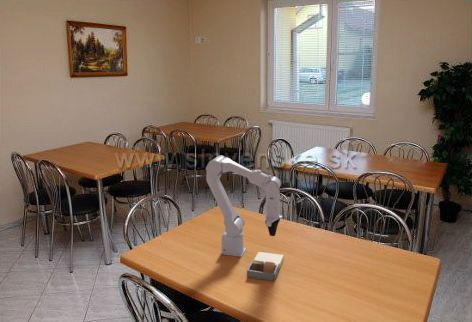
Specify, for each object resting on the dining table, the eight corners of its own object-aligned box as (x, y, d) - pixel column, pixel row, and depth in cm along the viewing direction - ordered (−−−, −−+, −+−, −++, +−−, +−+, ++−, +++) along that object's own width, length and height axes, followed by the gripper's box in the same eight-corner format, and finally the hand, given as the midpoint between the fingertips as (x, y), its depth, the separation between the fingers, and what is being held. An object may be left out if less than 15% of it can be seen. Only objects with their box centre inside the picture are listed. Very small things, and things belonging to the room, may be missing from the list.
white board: (253, 265, 165) (253, 261, 164) (258, 255, 173) (258, 251, 173) (279, 269, 161) (279, 265, 161) (283, 259, 170) (283, 255, 169)
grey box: (247, 277, 157) (247, 270, 156) (253, 265, 165) (253, 259, 164) (274, 281, 153) (274, 274, 152) (279, 269, 161) (279, 263, 161)
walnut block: (254, 268, 162) (252, 272, 160) (254, 260, 161) (252, 263, 159) (263, 270, 161) (262, 273, 158) (263, 261, 160) (262, 264, 157)
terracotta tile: (265, 270, 161) (263, 273, 158) (265, 261, 160) (263, 264, 157) (274, 271, 159) (273, 275, 157) (274, 263, 158) (273, 266, 156)
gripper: (278, 213, 159) (277, 244, 162) (285, 200, 172) (285, 229, 175) (261, 211, 161) (261, 241, 164) (270, 199, 174) (269, 227, 178)
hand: (272, 235), depth 170 cm, fingers closed
